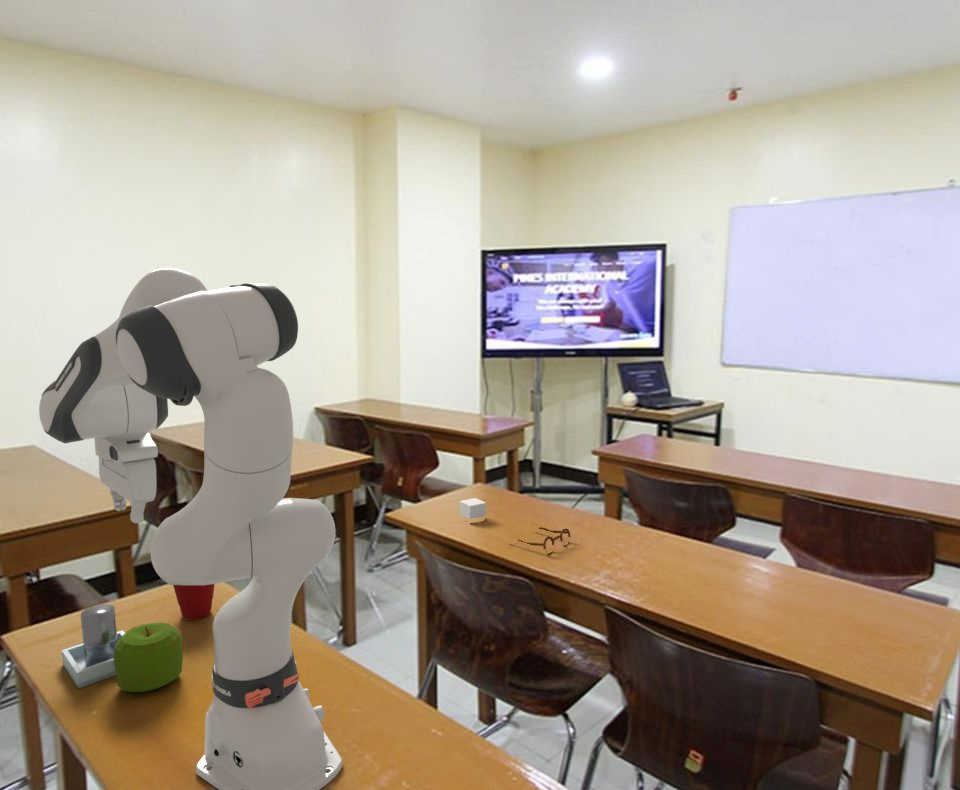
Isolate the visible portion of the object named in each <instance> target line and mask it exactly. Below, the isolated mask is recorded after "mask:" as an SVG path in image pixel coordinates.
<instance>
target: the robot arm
mask: <svg viewBox="0 0 960 790" xmlns="http://www.w3.org/2000/svg"><path fill="white" fill-rule="evenodd" d="M298 333H299V321H298V316H297V312H296V310H295V307H294V305H293V303H292V302H291V300H290V299H289V297H288V296H287V295H286V294H285V293H283V291H281V290H280V289H279V288H278V287H276V286H275V285H273V284H269V283H259V282H258V283H257V282H254V283H253V282H251V283H249V282H247V283H240V284H231V285H229V286H228V287H223V288H218V289H212V290H208V289H207V287H206V286H205V285H204V283H203V282H202V281H201V280H199V278H197V277H196V276H195V275H193V274H192V273H190V272H188V271H185V270H182V269H179V268H172V267H166V268H165V267H163V268H158V269H154V270H153V271H150V272H148V273H147V274H146V275H144V276H143V277H142V278H140V280H139V281H138V282H137V284H135V286H134V287H133V288H132V290H131V292H130V293H129V295H128V296H127V298H126V300H125V302H124V303H123V306H122V309H121V311H120V314H119V316H118V318H117V319H116V320H115V321H114V322H113V323H111V324H110V325H109V326H108V327H107V328H105V329H103V330H102V331H101V332H99V333H97V334H95V335H94V336H91V337H90V338H89V337H88V339H86V340H84V341H82V342H81V343H80V344H79V346H78V347H77V348H76V350H75V351H74V353H73V354H72V355H71V356H70V358H69V360H68V361H67V363H66V364H65V365H64V367H63V369H62V371H61V372H60V374H58V376H57V378H56V379H55V380H54V381H53V382H52V383H50V384H49V385H48V386H47V387H46V388H45V389H44V391H43V392H42V394H41V398H40V401H39V406H38V407H39V408H38V411H39V412H38V413H39V415H38V416H39V420H40V424H41V426H42V428H43V431H44V432H45V434H47V435H49V436H50V437H51V438H53V439H55V440H57V441H59V442H61V443H63V444H70V443H76V442H80V441H84V440H91V439H94V450H95V455H96V456H98V474H99V479H100V482H101V483H102V484H103V485H105V486H106V487H107V488H109V493H110V496H111V499H112V502H113V503H112V504H113V509H114V510H116V511H117V512H121V511H125V510H127V501H126V500H128V502H129V503H130V506H131V510H130V511H131V512H129V516H130V522H132V523H133V524H139V523H142V522H144V519H145V518H144V512H145V508H146V503H149V502H153V501H154V500H155V499H156V495H157V464H156V460H155V459H154V458H158V455H159V450H158V446H157V444H156V443H155V442H154V440H153V438H152V436H151V433H150V431H154V430H157V429H158V428H160V427H161V426H162V424H164V422H165V421H166V420H167V418H168V417H169V405H168V404H169V403H168V400H170V401H171V403H172V404H174V405H176V406H180V407H186V406H189V405H190V404H191V403H192V402H193V400H194V398H195V399H196V400H197V402H198V404H199V405H200V407H201V410H202V412H203V419H204V421H203V422H204V428H203V429H204V431H203V432H204V433H203V449H204V456H203V457H204V462H203V463H204V465H203V466H204V468H203V479H202V485H201V487H200V488H199V491H198V492H197V493H196V495H195V496H194V497H193V498H192V499H191V500H190V501H189V503H188V504H186V505H185V506H184V507H183V508H181V509H180V510H179V511H177V512H175V513H173V514H172V515H170V516H168V517H166V518H165V519H164V520H163V521H162V522H161V523H160V525H159V526H158V527H157V528H156V530H155V532H154V534H153V537H152V540H151V544H150V561H151V564H152V566H153V569H154V571H155V573H156V574H157V575H158V576H159V577H160V579H161V580H162V581H164V582H165V583H166V584H168V585H169V586H173V585H210V584H214V585H215V584H220V583H227V582H233V581H238V580H243V579H249V578H250V579H251V581H250V582H249V583H248V585H246V587H244V588H243V590H241V591H240V592H238V593H237V594H235V595H234V596H232V597H230V598H229V599H228V600H227V601H225V603H224V604H223V605H222V606H221V607H220V609H219V610H218V611H217V612H216V614H215V617H214V619H213V622H212V639H213V641H212V642H213V655H214V663H213V664H212V668H211V669H212V670H211V671H212V672H211V685H212V691H213V694H214V696H213V698H212V701H211V703H210V705H209V707H208V709H207V711H206V714H205V717H204V754H203V755H202V757H201V758H200V759H199V761H197V762H196V767H195V773H196V775H197V776H198V777H201V778H202V779H203V780H205V781H206V782H207V783H209V784H211V786H213V787H215V788H216V789H218V790H320V789H322V788H323V787H325V786H326V785H327V784H329V783H330V782H331V781H332V780H333V779H334V778H335V777H336V776H337V775H338V774H339V772H340V771H341V770H342V768H343V765H344V763H343V758H342V757H341V755H340V754H339V752H338V750H337V749H336V747H335V746H334V744H333V743H332V741H331V739H330V738H329V737H328V735H327V734H326V732H325V730H324V729H323V726H322V723H321V722H323V721H324V720H325V711H324V710H325V709H324V707H323V706H322V705H321V704H319V705H316V706H314V707H313V705H312V703H311V701H310V699H309V697H310V691H309V688H307V687H306V688H303V686H302V683H301V682H300V678H299V677H300V674H299V671H298V668H297V667H298V666H297V660H296V659H295V655H294V652H293V650H292V649H291V625H292V611H293V607H294V602H295V600H296V597H297V594H298V592H299V590H300V589H301V587H302V585H303V583H304V582H305V580H306V579H307V577H308V576H310V574H311V572H312V571H313V570H315V568H316V567H317V566H318V565H320V564H321V563H322V562H323V561H324V560H325V559H326V558H327V557H328V555H329V554H330V552H331V551H332V549H333V546H334V543H335V539H336V523H335V520H334V517H333V516H332V513H331V511H330V509H328V507H327V506H326V505H325V504H324V503H323V502H321V501H320V500H319V499H310V498H297V497H285V495H286V493H287V492H288V490H289V487H290V484H291V478H292V477H291V474H292V463H293V462H292V461H293V446H294V422H293V421H294V420H293V412H292V404H291V399H290V395H289V392H288V388H287V386H286V385H285V384H286V383H285V382H284V381H283V380H282V379H281V377H279V376H278V375H277V374H275V373H274V372H273V371H272V372H271V371H270V370H268V369H265V368H263V367H262V368H261V367H258V366H259V365H262V364H263V363H266V362H273V361H275V360H276V359H279V358H280V357H282V356H284V355H285V354H287V353H288V352H289V351H290V350H291V349H293V348H294V347H295V345H296V343H297V339H298Z"/></svg>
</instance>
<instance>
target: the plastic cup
mask: <svg viewBox="0 0 960 790" xmlns="http://www.w3.org/2000/svg"><path fill="white" fill-rule="evenodd" d="M172 586H173V589H174V593H175V596H176V600H177V604H178V606H179V608H180V609H179V610H180V614H181V616H182V619H184V620H186V621H197V620H201V619H204V618H206V617H208V616H209V615H210V613H211V612H212V611H211V610H212V605H213V599H214V591H215V584H210V585H172Z"/></svg>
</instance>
